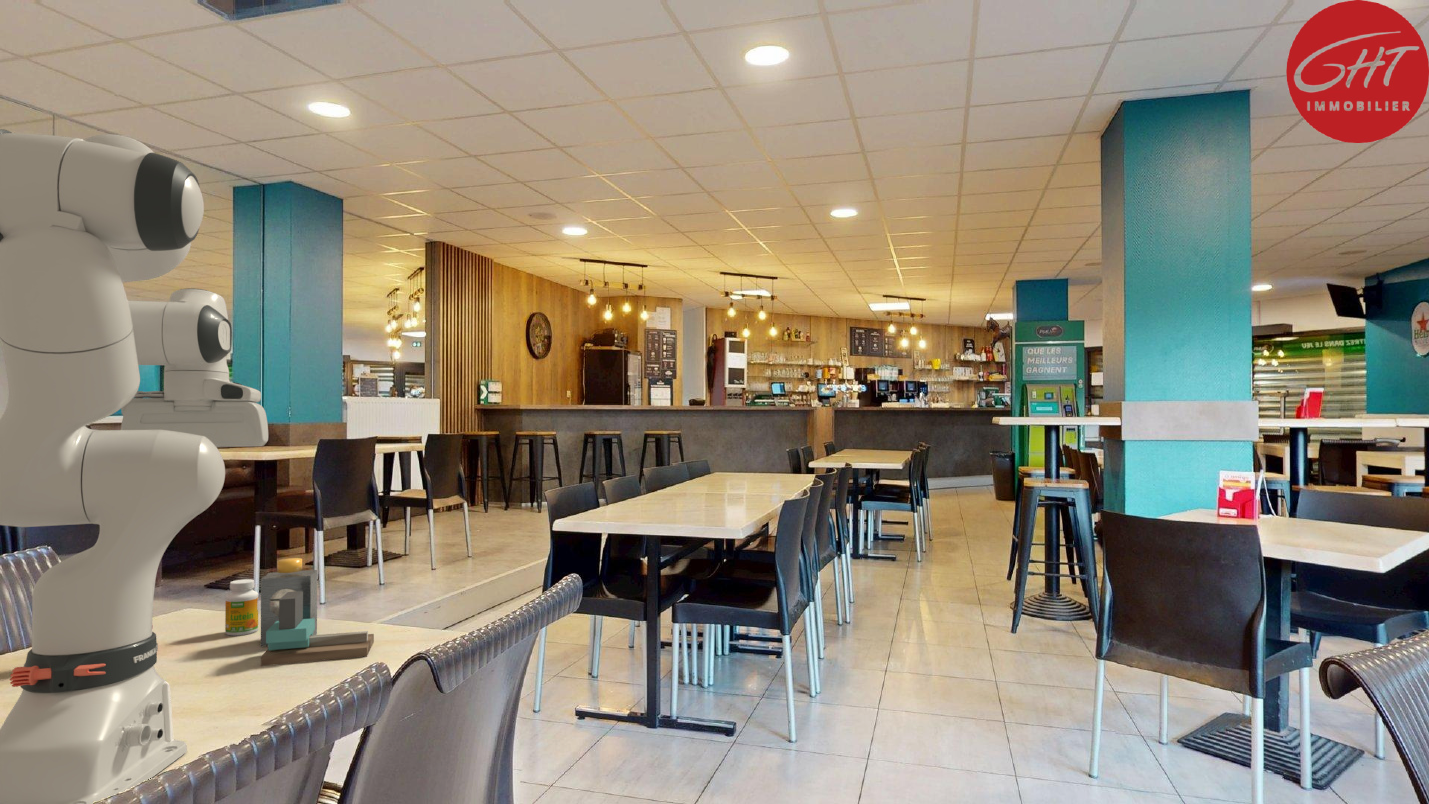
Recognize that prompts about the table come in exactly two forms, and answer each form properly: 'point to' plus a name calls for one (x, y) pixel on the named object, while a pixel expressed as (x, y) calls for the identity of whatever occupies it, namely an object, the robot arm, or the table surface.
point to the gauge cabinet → (277, 587)
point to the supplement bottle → (241, 608)
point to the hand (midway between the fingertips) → (195, 476)
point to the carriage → (290, 624)
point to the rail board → (323, 649)
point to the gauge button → (289, 565)
